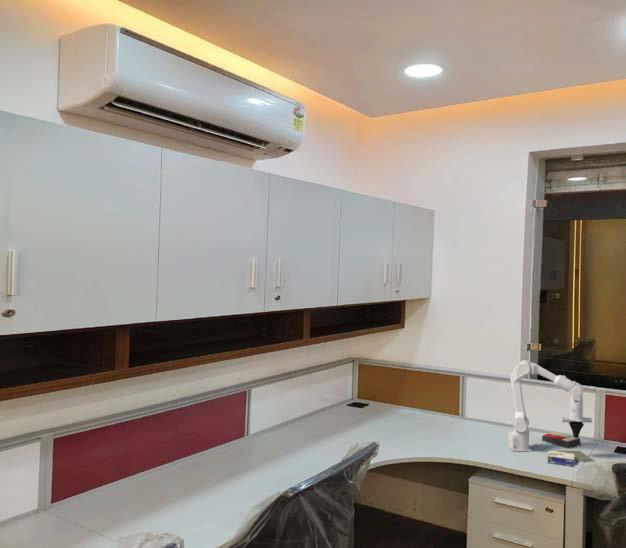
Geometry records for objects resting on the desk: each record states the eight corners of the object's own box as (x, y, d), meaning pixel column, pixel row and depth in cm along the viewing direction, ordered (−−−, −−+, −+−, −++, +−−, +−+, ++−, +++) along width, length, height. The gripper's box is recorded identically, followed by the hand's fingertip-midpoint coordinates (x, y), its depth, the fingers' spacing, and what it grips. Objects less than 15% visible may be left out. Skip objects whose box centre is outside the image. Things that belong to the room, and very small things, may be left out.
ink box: (574, 453, 265) (574, 461, 255) (574, 458, 265) (574, 466, 255) (548, 449, 270) (547, 458, 260) (548, 454, 270) (547, 463, 260)
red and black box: (553, 431, 301) (580, 436, 288) (554, 439, 300) (580, 445, 288) (541, 434, 294) (568, 440, 282) (541, 442, 294) (568, 449, 282)
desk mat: (571, 461, 262) (571, 460, 262) (557, 451, 276) (557, 450, 276) (594, 461, 262) (594, 460, 262) (579, 452, 276) (579, 450, 276)
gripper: (565, 411, 265) (564, 439, 265) (595, 411, 265) (595, 439, 265) (558, 407, 272) (557, 435, 272) (588, 407, 272) (587, 435, 272)
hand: (575, 437), depth 269 cm, fingers closed
